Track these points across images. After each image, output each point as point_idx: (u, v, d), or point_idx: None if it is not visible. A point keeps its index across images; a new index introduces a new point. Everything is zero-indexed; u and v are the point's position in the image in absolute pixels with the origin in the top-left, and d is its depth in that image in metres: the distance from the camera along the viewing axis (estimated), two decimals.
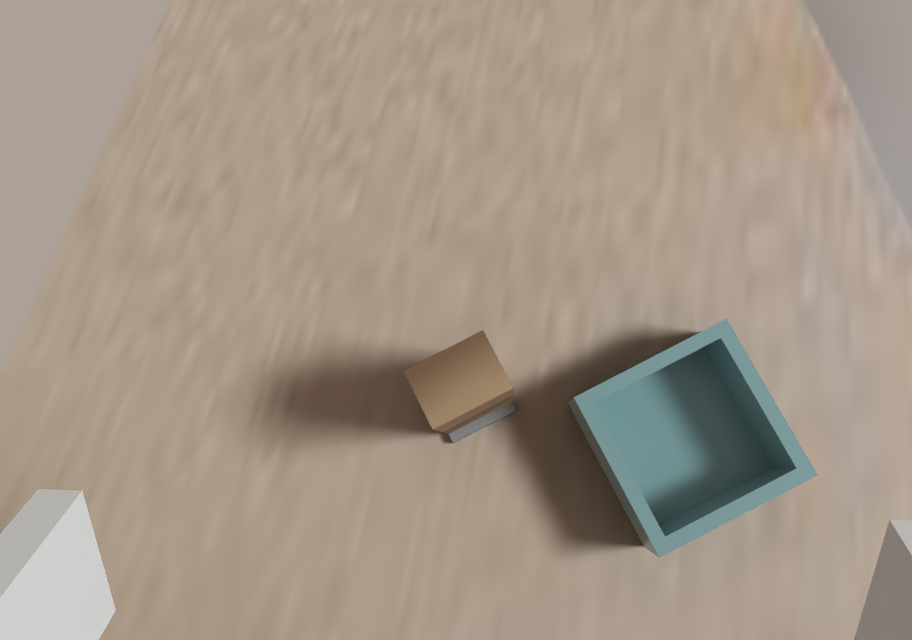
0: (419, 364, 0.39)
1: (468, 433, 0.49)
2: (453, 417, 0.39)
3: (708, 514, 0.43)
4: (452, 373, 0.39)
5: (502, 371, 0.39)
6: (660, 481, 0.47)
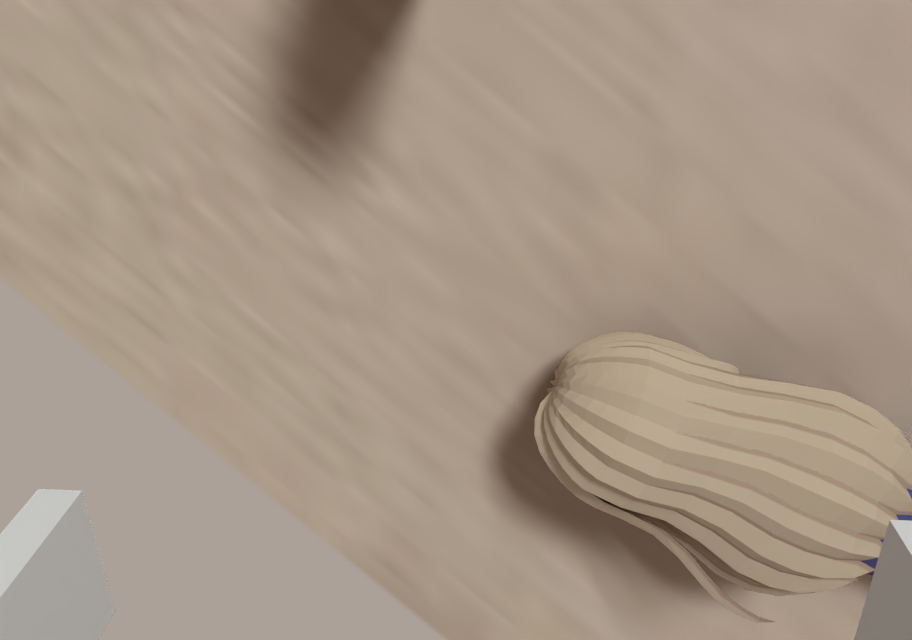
0: None
1: None
2: None
3: None
4: None
5: None
6: None
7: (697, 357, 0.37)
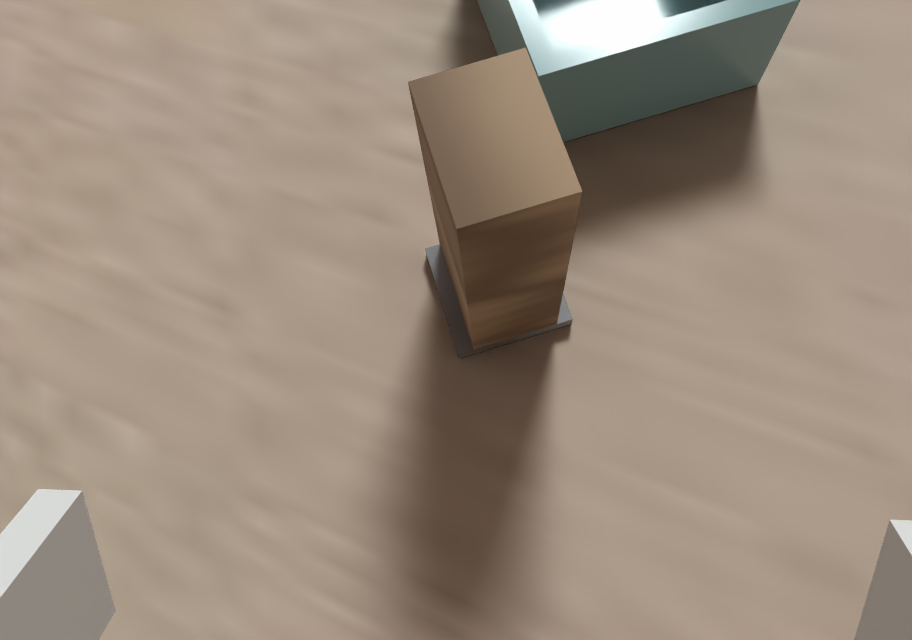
0: (449, 197, 0.19)
1: None
2: (564, 152, 0.20)
3: None
4: (479, 142, 0.20)
5: (491, 60, 0.21)
6: None
7: None
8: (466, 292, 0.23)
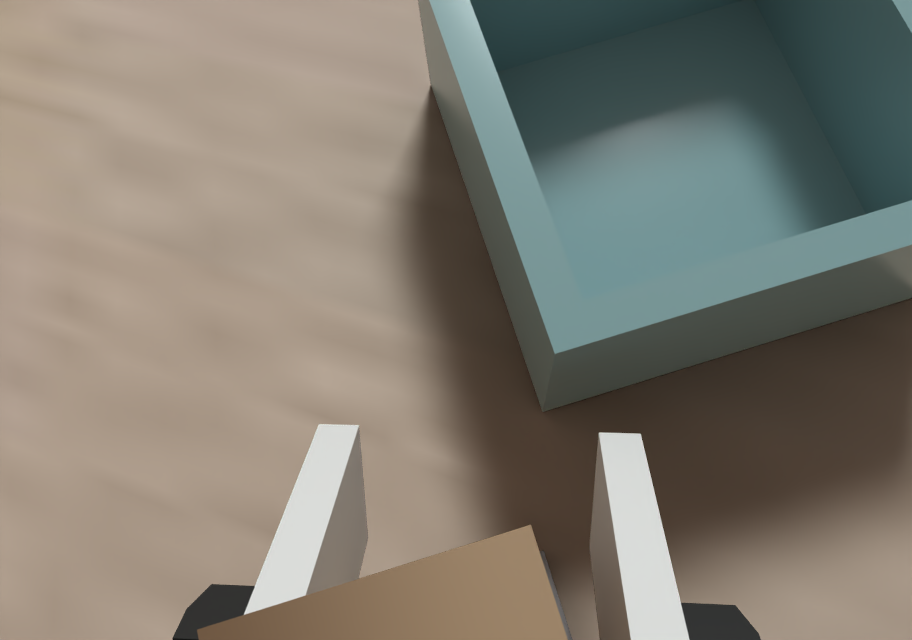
0: None
1: None
2: None
3: None
4: None
5: (435, 564, 0.07)
6: (772, 222, 0.19)
7: None
8: None
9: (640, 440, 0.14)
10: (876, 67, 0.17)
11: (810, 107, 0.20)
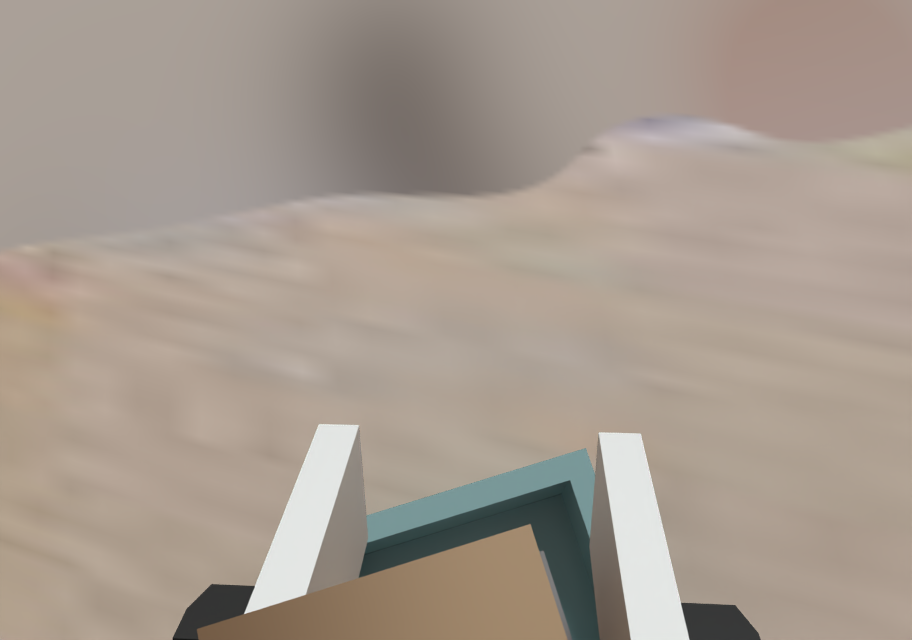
0: None
1: None
2: None
3: None
4: None
5: (435, 563, 0.07)
6: None
7: None
8: None
9: (640, 440, 0.14)
10: None
11: (593, 596, 0.28)
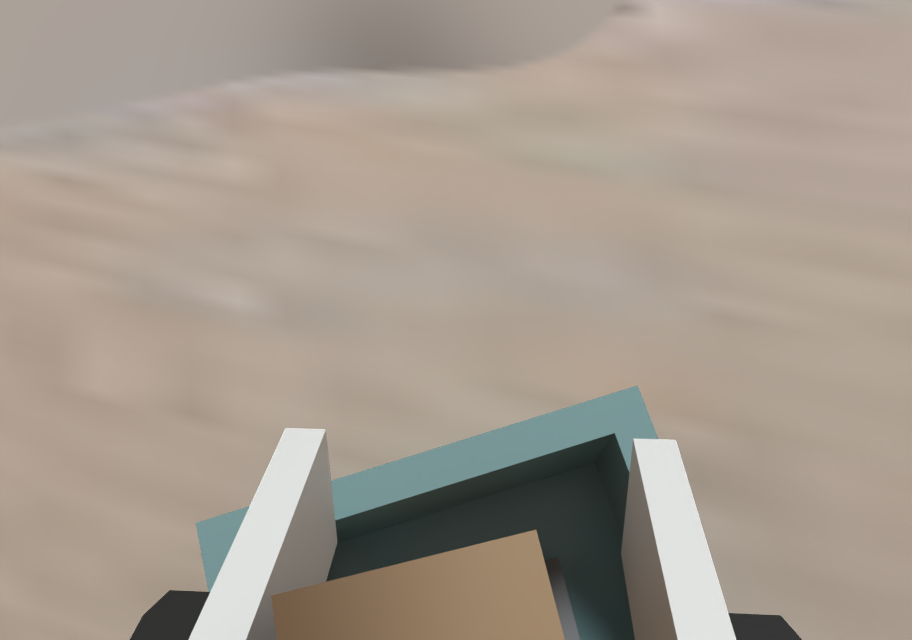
0: None
1: None
2: None
3: None
4: None
5: (458, 556, 0.09)
6: None
7: None
8: None
9: (675, 446, 0.14)
10: None
11: None
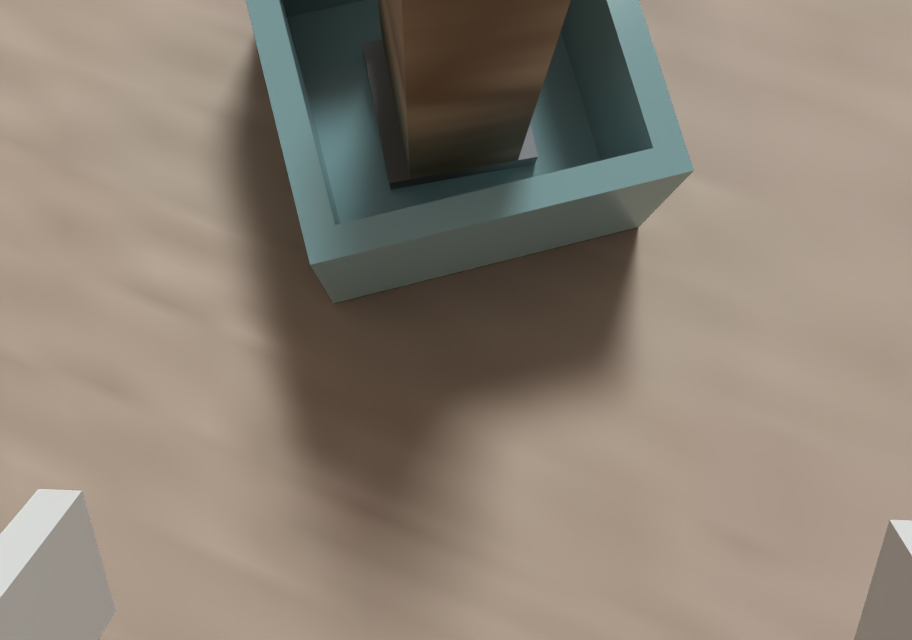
0: None
1: None
2: None
3: (622, 51, 0.20)
4: None
5: None
6: None
7: None
8: (406, 86, 0.17)
9: None
10: (600, 46, 0.21)
11: (571, 66, 0.24)
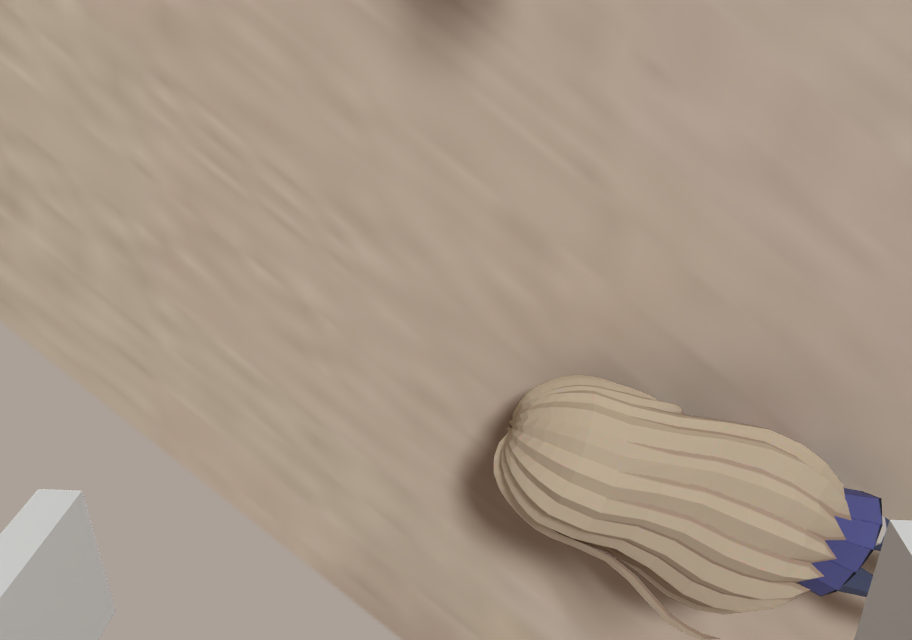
0: None
1: None
2: None
3: None
4: None
5: None
6: None
7: (640, 399, 0.40)
8: None
9: None
10: None
11: None
